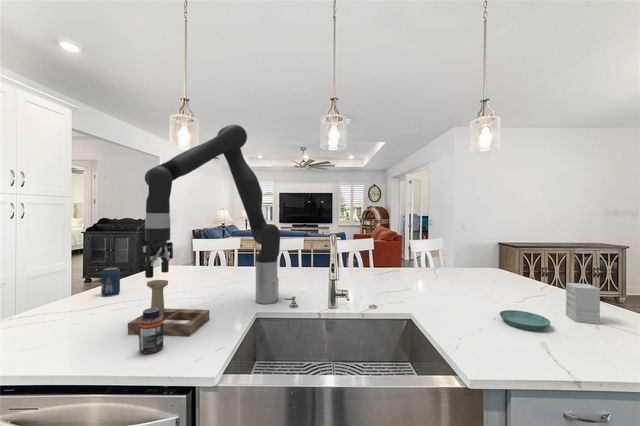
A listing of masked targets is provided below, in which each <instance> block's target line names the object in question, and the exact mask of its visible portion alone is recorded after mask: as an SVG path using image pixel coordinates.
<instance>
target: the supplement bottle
mask: <svg viewBox="0 0 640 426" xmlns="http://www.w3.org/2000/svg"><path fill="white" fill-rule="evenodd" d="M159 313H160V312H159V308H151V307H150V308H146V309H144V310H143V311H142V315H143V318H141V319H140V321H139V335H138V345H139V346H138V347H139V348H138V350H139V353H141V354H143V355H150V354H154V353H157V352H160V351H161V350H162V349H163V348H164V335H163V317H162V316H161V315H160V314H159Z"/></svg>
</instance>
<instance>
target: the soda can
mask: <svg viewBox="0 0 640 426" xmlns="http://www.w3.org/2000/svg"><path fill="white" fill-rule="evenodd" d="M100 274H101V276H100V277H101V278H100V279H101V285H100V286H101V288H100V289H101V291H100V292H101V295H102V296H103V297H115V296H117V295H119V293H120V292H121V271H120V269H119V267H118V266H117V267H116V266H115V267H105V268H103V269H102V271H101V273H100Z"/></svg>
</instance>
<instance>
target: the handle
mask: <svg viewBox="0 0 640 426" xmlns="http://www.w3.org/2000/svg"><path fill="white" fill-rule="evenodd" d="M168 285H169V280H166V279H153V280H152V279H151V280H149V281H147V282H146V286H147V287H148V288H150V289H151V303H150V304H151V305H150V308H159V312H160V313H159V314H160V315H161V316H162V317H163V319H164V309H165V298H164V296H165V295H164V288H165V287H167V286H168Z"/></svg>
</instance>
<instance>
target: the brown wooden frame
mask: <svg viewBox="0 0 640 426" xmlns="http://www.w3.org/2000/svg"><path fill="white" fill-rule="evenodd" d="M141 318H143V314H141V315H140V316H138V317H137V318H134V319H132V320H131V321H129V322H127V335H138V336H139V321H140V319H141ZM208 321H210V309H198V308H197V309H196V308H195V309H194V308H192V309H191V308H189V309H188V308H164V319H163V336H168V337H171V336H172V337H191V336H192V335H193V334H194V333H195V332H197V331H198V330H199V329H200V328H201V327H203V326H204V325H205V324H206V323H207V322H208ZM196 330H197V331H196ZM190 335H191V336H190Z"/></svg>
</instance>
